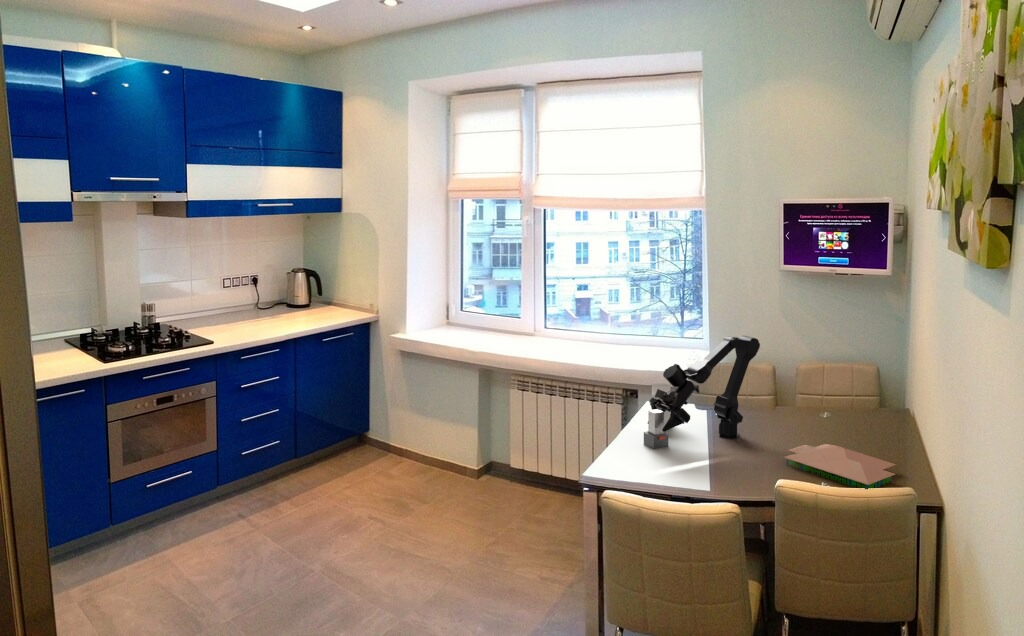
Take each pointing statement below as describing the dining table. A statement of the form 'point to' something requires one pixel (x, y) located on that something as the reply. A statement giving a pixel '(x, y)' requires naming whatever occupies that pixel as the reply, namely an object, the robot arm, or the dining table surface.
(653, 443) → the stand
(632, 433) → the dining table surface
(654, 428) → the post
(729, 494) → the dining table surface
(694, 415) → the dining table surface
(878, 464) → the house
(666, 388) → the milk carton
